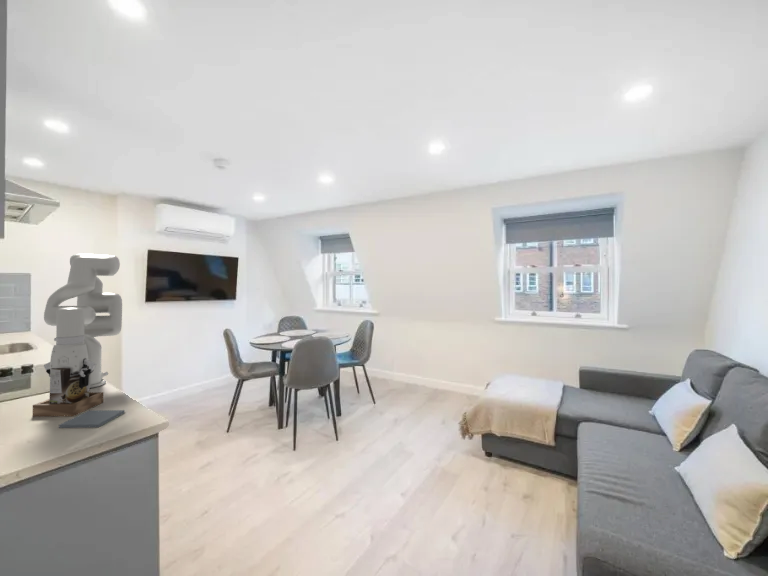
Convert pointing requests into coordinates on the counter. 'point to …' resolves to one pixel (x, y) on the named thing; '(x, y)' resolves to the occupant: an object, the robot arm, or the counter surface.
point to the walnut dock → (67, 406)
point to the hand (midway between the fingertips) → (70, 386)
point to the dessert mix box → (66, 387)
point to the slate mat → (92, 419)
